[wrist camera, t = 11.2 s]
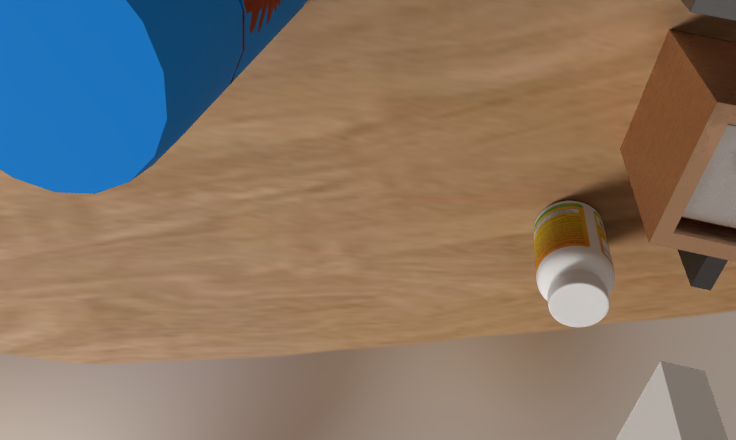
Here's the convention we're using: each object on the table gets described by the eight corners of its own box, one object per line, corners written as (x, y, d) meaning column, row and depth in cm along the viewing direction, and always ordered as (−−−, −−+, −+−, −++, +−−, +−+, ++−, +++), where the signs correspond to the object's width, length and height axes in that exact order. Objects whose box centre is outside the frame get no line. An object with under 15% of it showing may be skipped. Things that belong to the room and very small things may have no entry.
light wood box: (669, 29, 43) (717, 102, 33) (809, 57, 42) (900, 138, 32) (606, 184, 50) (630, 282, 40) (725, 209, 49) (780, 315, 39)
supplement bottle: (520, 236, 54) (522, 315, 46) (557, 187, 51) (566, 262, 43) (577, 264, 54) (589, 346, 46) (617, 217, 51) (637, 296, 43)
